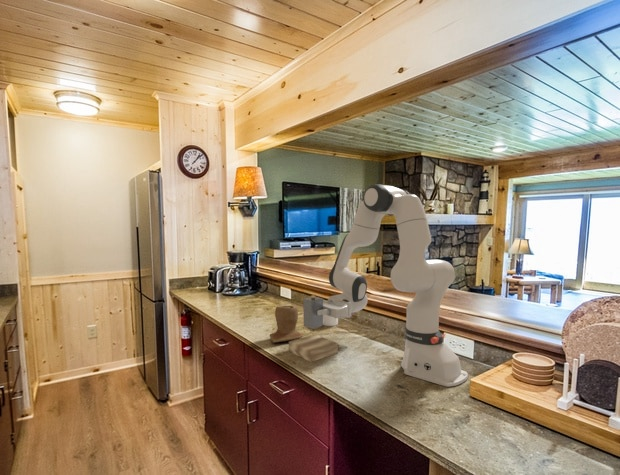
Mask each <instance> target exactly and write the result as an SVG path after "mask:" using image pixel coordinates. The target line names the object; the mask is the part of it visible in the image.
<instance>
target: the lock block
mask: <svg viewBox="0 0 620 475" xmlns="http://www.w3.org/2000/svg"><path fill="white" fill-rule="evenodd" d="M323 300H324V298H322V297H318V296H316V295H314V294H312V295H310V297H304V298H303V326H304V327H305V328H309V329H311V330H313V329H316V328H319V327H322V326H323V327H324V325H323V315H316V310H323Z"/></svg>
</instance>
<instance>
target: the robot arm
mask: <svg viewBox="0 0 620 475" xmlns="http://www.w3.org/2000/svg"><path fill="white" fill-rule="evenodd" d="M387 215H388V216H391V217H392V216H394V219H395V223H396V229H397V234H398V240H399V255H398V259H397V261H396V262H395V264H394V265H393V267H392V268H391V270H390V282H391V284H392V286H393V287H394V289H395V290H397V291H399V292H404V293H415V295H414V297H413V299H412V300H410V302H409V303H408V304H407V306H406V320H405V322H406V324H405V325H406V326H405V328H404V339H405V344H404V352H403V357H402V361H401V363H400V366H401V368H402V369H403V373H404V375H408V376H410V377H412V378H413V377H414V378H416V379H420V380H423V381H426V382H430V383H434V384H437V385H440V386H443V387H454V386H458V385H461V384H463V383H464V382H466V381H467V380H468V379H469V374H468V372H467V371H466V370H463V369H462V366H461V362H460V358H459V356H458V355H457V354H456V353H455V352H453V350H451V348H449V347H448V345H447V344H446V343H445V342H444V340H443V339H444V338H445V337H446V333H444V334H442V333H441V331H440V329H439V324H440V322H439V321H440V311H441V310H440V309H441V304H442V301H443V299H444V296H445V294H446V292H447V290H448V288H449V287H450V286H451V285H452V284H453V283H454V281H455V277H456V272H455V268H454V266H453V265H452V263H451V262H449V261H446V260H443V259H438V258H437V259H436V258H432V259H426V250H427V248H428V247H429V246H430V245H431V243H432V234H431V230H430V226H429V222H428V217H427V214H426V211H425V208H424V205H423V202H422V201H421V199H420V197H419V196H417V195H416V194H413V193H410V192H409V191H407V190H406V189H403V188H399V187H395V186H394V185H390V184H389V185H387V184H380V183H378V184H377V183H375V184H372V185H370V186H368V187H367V188H366V189H365V190H364V192H363V195H362V201H361V202H360V203H359V205H358V208H357V210H356V213H355V217H354V220H353V224H352V227H351V230H350V231H349V232H348V233H347V234H346V235H345V236H344V237H343V240H342V242H341V244H340V248H339V251H338V253H337V256H336V259H335V262H334V264H333V266H332V268H331V270H330V271H329V274H328V281H329V285H330V286H332V287H333V288H336V289H338V290H340V291H341V292H342V293H340V294H334V295H331V296H329V297H328V299H327V300H325V299H323V310H316V315H328V316H331V317H334V318H338V319H345V318H348V319H349V318H352V313H353V314H354V313H356V312H360V311H361V310H363V309H364V308H365V307H367V304H368V302H369V301H368V299H369V298H368V295H367V291H368V289H367V288H368V282H367V279H366V278H365V276H363V275H361V274H359V273H357V272H354V271H352V270H350V269H349V267H348V265H349V261H350V259H351V256H352V254H353V253H354V250H355V249H357V248H361V247H362V248H364V247H368V246H371V245H372V244H374V243H375V242H376V241H377V239H378V236H379V232H380V228H381V223H382V219H383V218H384V217H385V216H387Z"/></svg>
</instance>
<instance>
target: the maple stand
mask: <svg viewBox="0 0 620 475" xmlns="http://www.w3.org/2000/svg"><path fill="white" fill-rule="evenodd" d="M288 352H289V353H291V354H293V355H295V356H297V357H300V358H301V359H303V360H306V361H308V362H310V363H312V362H315V361H318V360H321V359H325V358H327V357H331V356H333V355H337V354H338V353H339V344H338V342H336V341H333V340H331V339H328V338H325V337H323V336H321V335H318V334H311V335H307V336H303V337H301V338H297V339H293V340H288Z"/></svg>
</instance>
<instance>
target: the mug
mask: <svg viewBox="0 0 620 475" xmlns="http://www.w3.org/2000/svg"><path fill="white" fill-rule="evenodd" d="M338 324H339V318H334V317H331V316H328V315H323V326H325V327H336V326H337V325H338Z"/></svg>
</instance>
